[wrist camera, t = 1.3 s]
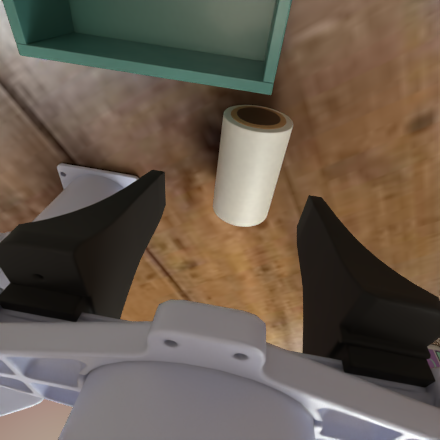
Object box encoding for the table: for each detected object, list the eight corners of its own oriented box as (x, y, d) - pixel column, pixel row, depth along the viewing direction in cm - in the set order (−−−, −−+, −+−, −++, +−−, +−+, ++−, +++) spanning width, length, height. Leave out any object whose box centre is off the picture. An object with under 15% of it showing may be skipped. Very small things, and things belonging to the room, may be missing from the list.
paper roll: (276, 209, 25) (248, 236, 22) (233, 186, 27) (201, 209, 24) (305, 118, 20) (272, 137, 16) (248, 98, 21) (209, 112, 18)
